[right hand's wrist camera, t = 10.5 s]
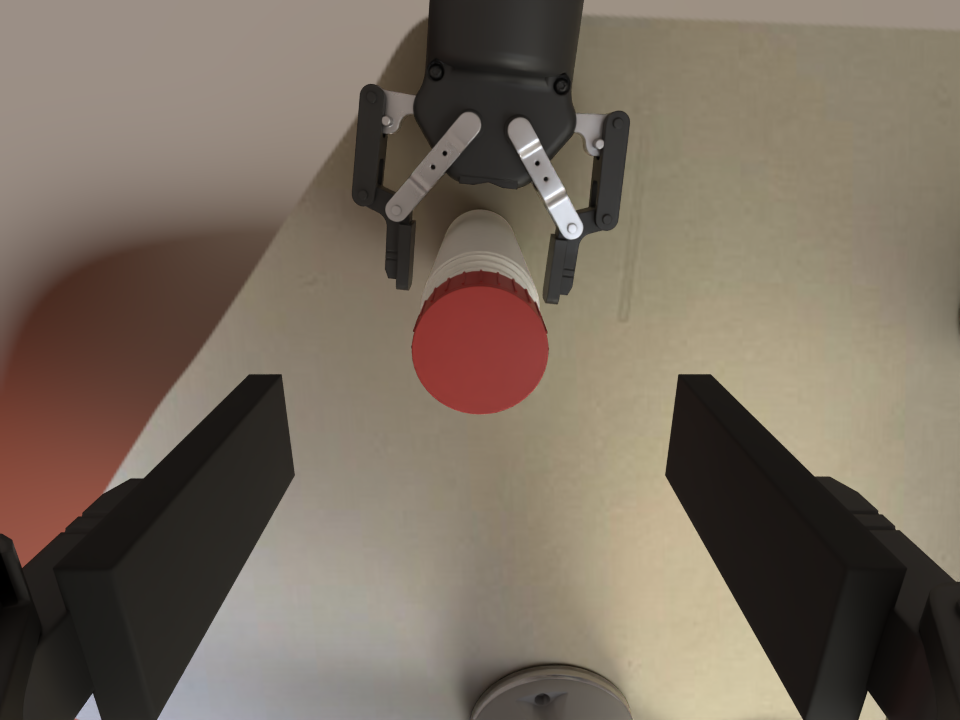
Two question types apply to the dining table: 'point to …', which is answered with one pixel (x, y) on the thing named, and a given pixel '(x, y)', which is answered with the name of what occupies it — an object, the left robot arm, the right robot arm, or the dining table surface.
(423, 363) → the cap
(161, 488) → the right robot arm
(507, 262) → the bottle
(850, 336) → the dining table surface
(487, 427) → the dining table surface
